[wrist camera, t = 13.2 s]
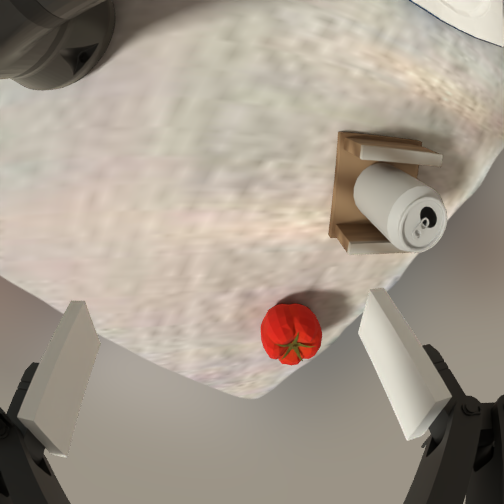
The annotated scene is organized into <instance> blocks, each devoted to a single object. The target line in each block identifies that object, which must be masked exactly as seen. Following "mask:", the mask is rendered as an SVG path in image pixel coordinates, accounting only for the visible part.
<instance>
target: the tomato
mask: <svg viewBox="0 0 504 504" xmlns="http://www.w3.org/2000/svg"><path fill="white" fill-rule="evenodd" d="M321 339H322V331H321V327H320V324H319V322H318V320H317V318H316V316H315V314H314V313H313V312H312V311H311V310H310V309H309V308H308V307H306V306H304V305H301V304H295V303H294V304H290V305H286V304H279V305H276V306H274V307H272V308H271V309H269V310H268V312H267V314H266V316H265V318H264V319H263V321H262V324H261V340H262V343H263V347H264V349H265V351H266V352H267V354H268V355H269V357H270V358H272V359H279V360H280V362H281V363H282V364H288V365H296V364H298V363H299V362H300V361H301V360H302V359H303V358H305V359H310V358H311V357H313V356H314V355H315V354H316V352H317V351H318V350H319V348H320V346H321ZM302 361H303V360H302Z"/></svg>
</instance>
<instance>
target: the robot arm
mask: <svg viewBox="0 0 504 504" xmlns="http://www.w3.org/2000/svg"><path fill="white" fill-rule="evenodd" d="M114 24H115V11H114V6H113V2H112V0H0V79H8V78H10V79H12V80H14V81H16V82H17V83H19V84H21V85H22V86H24V87H26V88H29V89H33V90H53V89H59V88H63V87H65V86H68V85H70V84H72V83H74V82H76V81H77V80H79V79H80V78H82V77H83V76H84V75H86V74H87V73H88V72H89V71H90V70H91V69H92V68H93V67H94V66H95V65H96V63H97V62H98V61H99V60H100V58H101V57H102V55H103V54H104V52H105V50H106V48H107V46H108V44H109V42H110V40H111V37H112V33H113V29H114ZM358 334H359V336H360V338H361V340H362V342H363V344H364V346H365V348H366V350H367V352H368V355H369V356H370V359H371V361H372V363H373V365H374V367H375V369H376V372H377V374H378V376H379V378H380V380H381V383H382V385H383V387H384V389H385V391H386V394H387V396H388V398H389V400H390V403H391V405H392V407H393V409H394V412H395V414H396V416H397V419H398V421H399V423H400V426H401V428H402V430H403V433H404V435H405V438H406V440H407V441H408V440H411V439H414V438H417V437H420V436H423V434H424V433H425V432H426V431H427V429H428V428H429V430H430V432H431V435H430V436H429V437H428V439H427V440H426V441H425V442H424V443H423V445H422V446H421V447H422V448H424V447H425V445H426V444H427V445H426V448H425V451H424V453H423V456H422V459H421V462H420V465H419V467H418V470H417V473H416V475H415V478H414V480H413V483H412V485H411V487H410V490H409V492H408V494H407V497H406V499H405V501H404V503H403V504H463V502H464V498H465V495H466V502H465V504H504V395H502V396H501V397H499V399H498V400H497V401H496V402H495V403H480V402H479V401H478V400H477V399H476V398H474V397H472V396H466V395H465V393H464V392H463V390H462V389H461V387H460V385H459V384H458V382H457V380H456V379H455V377H454V375H453V374H452V372H451V371H450V369H448V366H447V364H446V363H445V362H444V359H443V358H442V356H441V355H440V353H439V352H438V351H437V350H436V349H435V348H433V347H432V346H431V345H430V344H428V345H423V346H422V345H421V344H420V342H419V340H418V339H417V337H416V336H415V334H414V333H413V331H412V329H411V328H410V326H409V325H408V323H407V322H406V320H405V319H404V317H403V316H402V314H401V313H400V311H399V310H398V308H397V307H396V306H395V304H394V302H393V301H392V299H391V298H390V296H389V295H388V294H387V292H386V291H385V289H384V288H378V289H370V290H369V294H368V298H367V302H366V306H365V309H364V313H363V317H362V321H361V324H360V328H359V331H358ZM100 345H101V343H100V341H99V338H98V335H97V333H96V330H95V328H94V325H93V322H92V320H91V317H90V314H89V311H88V308H87V305H86V303H85V301H71V302H70V304H69V306H68V307H67V309H66V311H65V313H64V315H63V317H62V319H61V321H60V323H59V325H58V326H57V328H56V331H55V332H54V334H53V336H52V338H51V340H50V342H49V345H48V346H47V349H46V350H45V353H44V355H43V357H42V359H41V361H40V363H34V362H33V363H32V364H31V365H30V366H29V367H28V368H27V369H26V370H25V372H24V374H23V377H22V379H21V382H20V383H19V386H18V390H16V392H15V395H14V397H13V399H12V402H11V404H10V406H9V409H8V411H7V414H5V412H4V411H3V410H2V409H1V408H0V504H70V502H69V500H68V498H67V497H66V495H65V493H64V491H63V490H62V488H61V486H60V484H59V482H58V480H57V478H56V476H55V475H54V472H53V470H52V469H51V466H50V464H49V462H48V461H47V458H46V457H45V455H44V454H43V453H44V449H45V448H46V449H47V450H48V451H49V452H50V453H51V454H53V455H58V456H62V457H66V458H67V457H68V453H69V448H70V444H71V440H72V436H73V432H74V429H75V425H76V421H77V418H78V414H79V411H80V407H81V404H82V400H83V397H84V393H85V390H86V387H87V384H88V381H89V377H90V374H91V371H92V368H93V365H94V362H95V359H96V356H97V353H98V350H99V347H100Z"/></svg>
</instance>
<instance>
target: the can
mask: <svg viewBox="0 0 504 504" xmlns="http://www.w3.org/2000/svg"><path fill="white" fill-rule="evenodd" d="M354 200H355V204H356V206H357V207H358V209H359V210H360V212H361V213H362V214H363V215H365V216H366V217H367V218H368V219H369V220H370V221H371V223H372V224H373V225H374V226H375V227H376V228H377V229H378V230H379V231H380V232H381V233H382V234H383V235H384V236H385V237H386V238H387V239H388V240H389V241H390V242H391V243H392V244H393V245H394V246H395V247H397V248H398V249H399V250H403V251H407V252H409V251H410V252H414V253H419V252H424V251H426V250H428V249H430V248H432V247H433V246H434V245H435V244H436V243H437V242H438V241H439V240H440V238H441V237H442V235H443V233H444V231H445V228H446V224H447V211H446V209H445V206H444V204H443V202H442V199H441V197H440V195H439V194H438V193H437V192H436V191H435V190H434V189H433V188H431V187H429V186H428V185H426V184H424V183H423V182H421V181H419V180H417V179H416V178H414V177H412V176H410V175H409V174H407V173H405V172H403V171H402V170H400V169H398V168H396V167H394V166H392V165H390V164H387V163H376V164H373V165H370V166H369V167H367V168H366V169H365V170H363V171H362V173H361V174H360V175H359V177H358V178H357V180H356V183H355V186H354Z"/></svg>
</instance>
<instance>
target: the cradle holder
mask: <svg viewBox="0 0 504 504" xmlns="http://www.w3.org/2000/svg"><path fill="white" fill-rule="evenodd" d="M442 159H443V155H441V154H439V153H436V152H434V151H432V150H429V149H427V148H424V147H422V142H421V141H417V140H411V139H403V138H396V137H388V136H379V135H370V134H360V133H349V132H338V143H337V156H336V168H335V179H334V189H333V199H332V208H331V217H330V225H329V234H328V235H329V236H330V238H337V239H338V240H339V242H340V243H341V244H342V246H343V247H344V249H345V250H346V252H347V253H348V255H364V254H386V253H409V252H410V251H409V252H407V251H403V250H399V249H398V248H397V247H395V246H394V245H393V244H392V243H391V242H390V241H389V240H388V239H387V238H386V237H385V236H384V235H383V234H382V233H381V232H380V231H379V230H378V229H377V228H376V227H375V226H374V225H373V224H372V223H371V221H370V220H369V219H368V218H367V217H366V216H365V215H363V214H362V213H361V212H360V210H359V209H358V207H357V206H356V204H355V200H354V186H355V183H356V180H357V178H358V177H359V175H360V174H361V173H362V171H363V170H365V169H366V168H367V167H369V166H370V165H373V164H376V163H387V164H390V165H392V166H394V167H396V168H398V169H400V170H402V171H403V172H405V173H407V174H409V175H410V176H412V177H414V178H416V179H417V175H418V168H419V165H427V166H435V167H441V165H442Z"/></svg>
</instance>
